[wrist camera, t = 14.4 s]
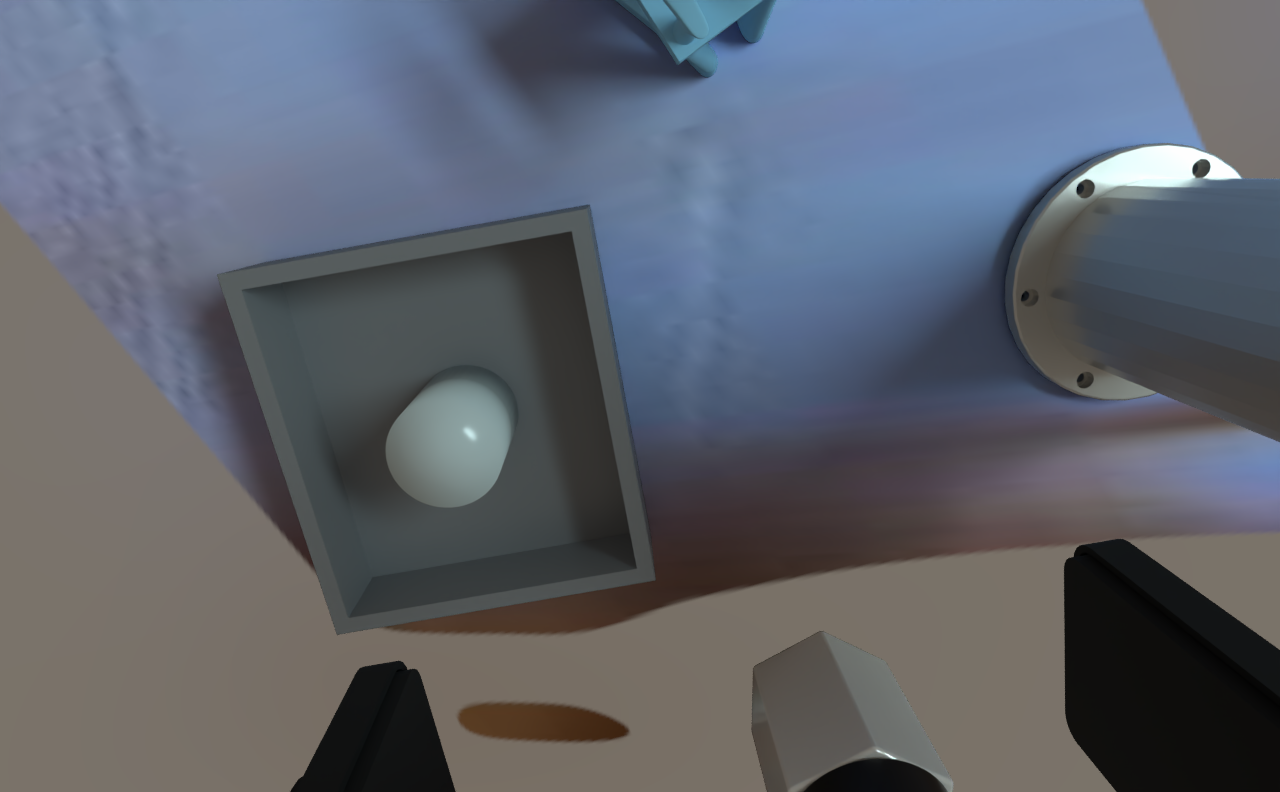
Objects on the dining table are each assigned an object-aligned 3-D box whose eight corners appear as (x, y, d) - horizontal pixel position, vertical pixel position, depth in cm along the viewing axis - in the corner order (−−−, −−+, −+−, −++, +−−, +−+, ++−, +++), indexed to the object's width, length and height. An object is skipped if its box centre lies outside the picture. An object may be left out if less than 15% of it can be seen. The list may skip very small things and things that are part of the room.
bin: (589, 204, 36) (586, 209, 32) (651, 537, 41) (655, 580, 37) (263, 262, 36) (216, 274, 32) (365, 586, 41) (337, 634, 37)
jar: (717, 717, 45) (753, 905, 33) (789, 611, 43) (854, 771, 31) (841, 772, 46) (918, 970, 35) (917, 672, 44) (1024, 846, 33)
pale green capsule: (506, 356, 37) (487, 389, 32) (528, 449, 39) (514, 496, 33) (407, 374, 38) (371, 410, 32) (433, 466, 39) (403, 516, 33)
